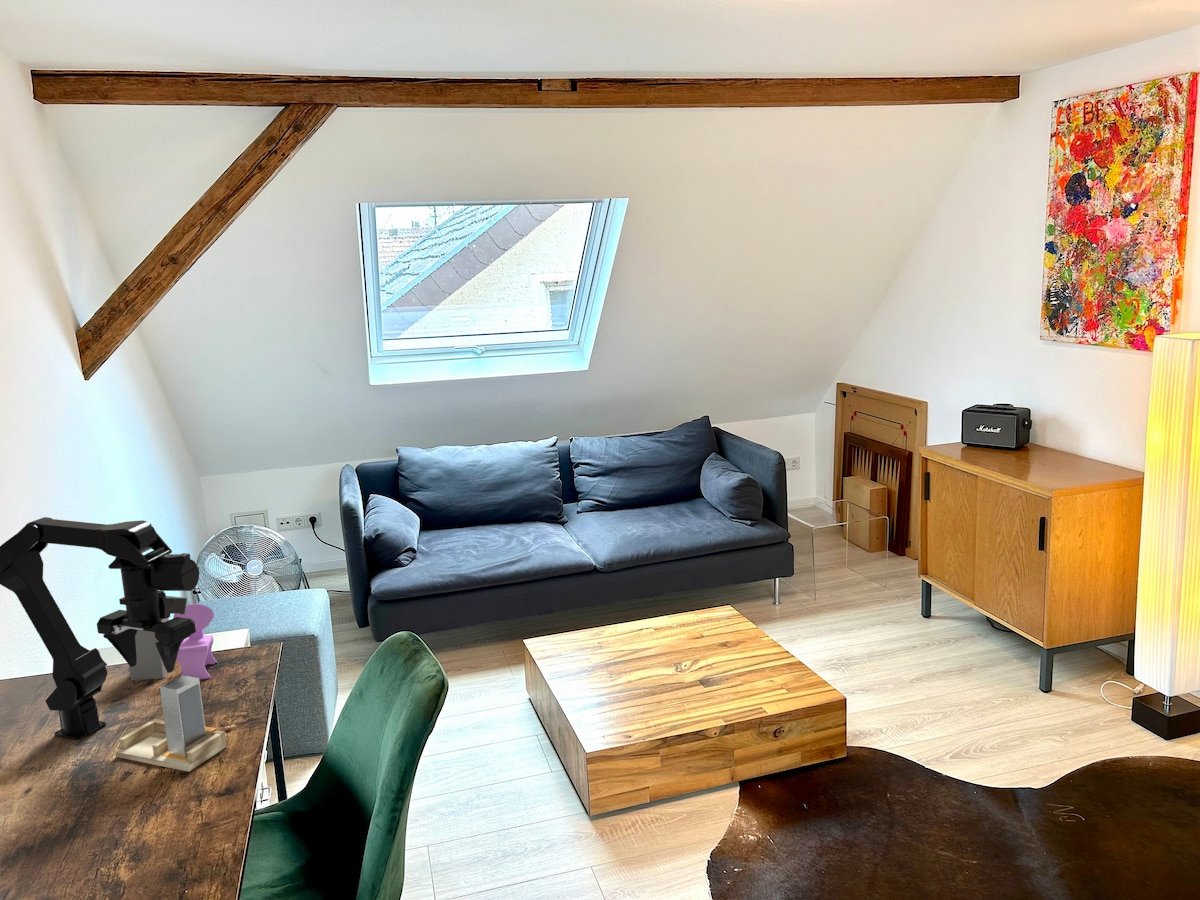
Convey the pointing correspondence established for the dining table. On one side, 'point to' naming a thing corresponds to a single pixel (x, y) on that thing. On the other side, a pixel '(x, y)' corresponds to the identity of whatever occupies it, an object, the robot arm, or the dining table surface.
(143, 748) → the cream divided tray
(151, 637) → the perfume bottle
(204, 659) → the toy chair
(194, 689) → the brushed steel block
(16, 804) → the dining table surface
